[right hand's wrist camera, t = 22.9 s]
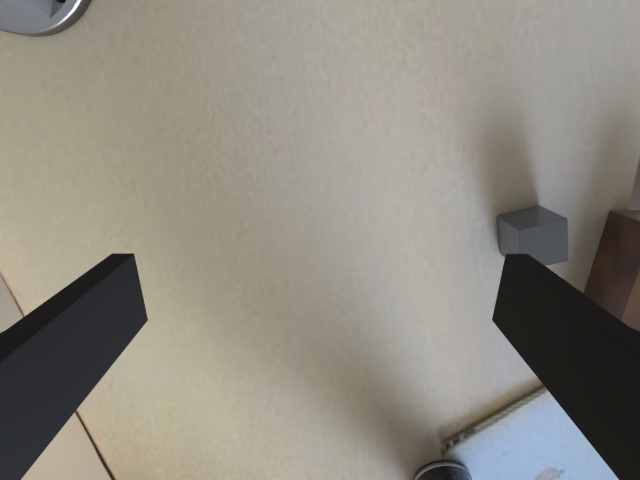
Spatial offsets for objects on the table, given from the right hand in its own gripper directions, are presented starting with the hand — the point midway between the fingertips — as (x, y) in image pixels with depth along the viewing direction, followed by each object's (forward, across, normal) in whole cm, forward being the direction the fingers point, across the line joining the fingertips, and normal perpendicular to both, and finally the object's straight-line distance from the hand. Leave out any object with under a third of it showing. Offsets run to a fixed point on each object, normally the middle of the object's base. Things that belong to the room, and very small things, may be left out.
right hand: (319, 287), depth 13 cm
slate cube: (+29, +24, -8) cm, 38 cm away
